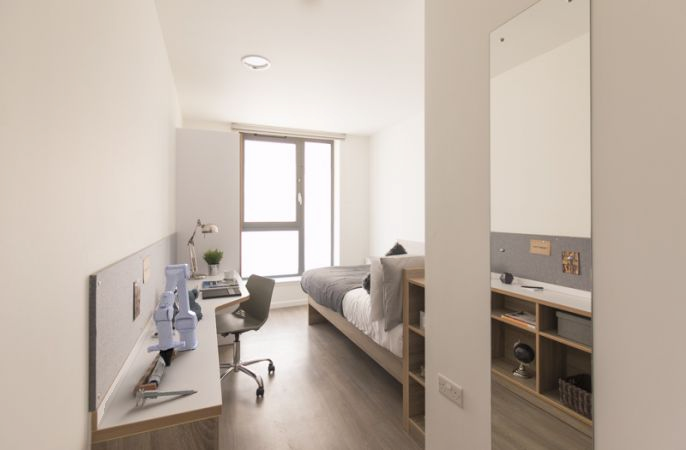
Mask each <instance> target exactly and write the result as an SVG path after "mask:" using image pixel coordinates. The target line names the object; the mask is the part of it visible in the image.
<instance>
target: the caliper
mask: <svg viewBox="0 0 686 450" xmlns="http://www.w3.org/2000/svg"><path fill="white" fill-rule="evenodd" d="M143 390H144V388H143V389H142V391H141V389H139V392H137V394H136V395H135V406H136V407H139V403H140V398H142V401H141V406H144V405H145V403H146V401H147V399H152V400H153V399H154V400H155V399H156V400H157V399H158V397H166V396H170V397H171V396H179V395H180V396H181V395H182V396H183V395H190V394H194V393H198V390H197V389H194V388H187V389H172V390H171V389H170V390H158V389H157V390H153V391H144V392H143Z"/></svg>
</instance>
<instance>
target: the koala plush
mask: <svg viewBox="0 0 686 450" xmlns="http://www.w3.org/2000/svg"><path fill="white" fill-rule="evenodd" d="M200 293H201V290H200V289H199V288H198V287H194V288H192V289H191V290H188V295H189V306H190V310H191V311H193V312H195V313H196V316H197V319H198V320H200V319H203V312H202V307H201V304H200V303H199V302H197V301H196V300H197V299H198V298H200V296H201V294H200ZM174 295H175V300H174V301H176V302H177V303H178V304H179V302H178V292H176V293H174ZM178 313H179V308H178V309H175V308H174V310H173V315H174V317H173V319H174V320H175V316H176V315H177V314H178Z"/></svg>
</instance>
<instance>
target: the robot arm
mask: <svg viewBox="0 0 686 450" xmlns="http://www.w3.org/2000/svg"><path fill="white" fill-rule="evenodd" d="M164 274H165V278H166V285H165V289H164V290H165V291H164V292H163V293H162V294H161V296H160V299H159V303H158V306H157V308H156V309H155V310H154V311H153V317H152V318H153V321H154V324H155V325H154V326H155V327H156V330H157V339H158V340H157V341H158V344H155V345H150V346H148V347H147V353H148V354H149V353H151V352H157V351H159V353H158V354H159V355H160V356H161V357H162V358H163V360H164V362H165V364H166V366H165V367H170V366H171V364H172V359H173V358H172V354H173V351H174V350H175V349H177V351H178V352H182V351H189V350H196V348H197V346H198V344H199V340H197V333H196V332H197V330H196V329H197V327H198V324H199V322H198V320H199V319H197V316H196V313H195V312H193V311H191V310H190V306H189V295H188V291H189V285H188V280H189V279H190V278H191V267H190V265H189V264H188V263H181V264H167V265H166V266H165V267H164ZM176 288H177V290H176ZM175 290H176V291H177V293H178V302H179V303H178V302H177V303H178V310H179V313H178V314H177V315H176V316H175V319H174V317H173V311H174V310H175V308H174V304H175V301H176V300H175V295H174V294H175V293H174V292H175ZM173 319H174V324H173V323H172V322H173V321H172V320H173ZM173 326H174V330H175V331H177V333H178V334H179V335H178V336H179V341H174V331H173Z"/></svg>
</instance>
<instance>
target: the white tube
mask: <svg viewBox="0 0 686 450" xmlns="http://www.w3.org/2000/svg"><path fill="white" fill-rule="evenodd" d="M165 367H166V364H165V362H164V360H163V358H162V357H161V356H160V358H159V359H158V363H157V365H156V367H155V369H154V371H153V373H152V375H151V377H150V378H149V381H148V383H147V384H151V383H156V388H158V387H159V386H160V382H162V377H163V372H164V370H165Z"/></svg>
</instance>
